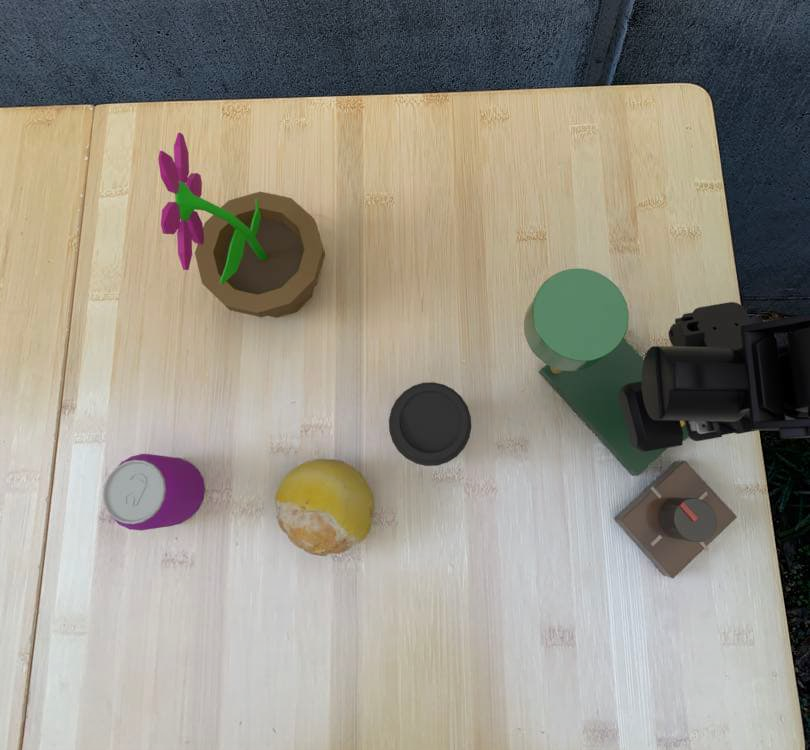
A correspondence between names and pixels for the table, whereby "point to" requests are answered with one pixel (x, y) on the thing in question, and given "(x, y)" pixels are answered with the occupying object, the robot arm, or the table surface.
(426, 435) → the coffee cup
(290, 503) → the fruit
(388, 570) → the table surface
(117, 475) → the beverage can
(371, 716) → the table surface
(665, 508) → the dimmer knob
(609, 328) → the green short cylinder
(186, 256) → the flowerpot
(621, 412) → the lamp base
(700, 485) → the dimmer panel
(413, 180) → the table surface
